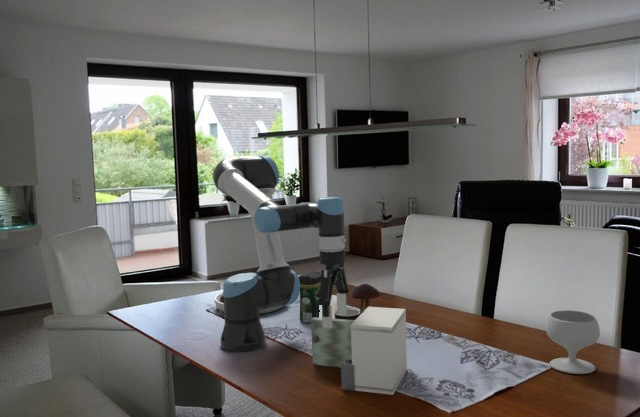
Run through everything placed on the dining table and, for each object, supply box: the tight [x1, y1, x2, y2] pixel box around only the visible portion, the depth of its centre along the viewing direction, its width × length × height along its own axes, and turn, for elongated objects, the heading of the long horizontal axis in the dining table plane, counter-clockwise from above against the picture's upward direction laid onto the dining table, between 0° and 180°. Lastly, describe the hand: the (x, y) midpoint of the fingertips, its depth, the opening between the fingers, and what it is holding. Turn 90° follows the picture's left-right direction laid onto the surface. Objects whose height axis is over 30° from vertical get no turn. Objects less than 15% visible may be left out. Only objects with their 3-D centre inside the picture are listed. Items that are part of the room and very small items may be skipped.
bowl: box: [214, 292, 282, 315], centre depth 241 cm, size 30×30×8 cm
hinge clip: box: [340, 358, 356, 392], centre depth 156 cm, size 4×6×9 cm
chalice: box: [545, 309, 601, 375], centre depth 164 cm, size 14×14×15 cm
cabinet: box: [351, 306, 408, 396], centre depth 160 cm, size 11×18×18 cm, turn 160°
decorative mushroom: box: [350, 283, 381, 315], centre depth 211 cm, size 11×11×15 cm
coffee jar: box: [298, 271, 321, 325], centre depth 217 cm, size 10×8×19 cm
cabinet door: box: [310, 317, 355, 368], centre depth 171 cm, size 14×3×14 cm, turn 70°
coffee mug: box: [334, 308, 360, 320], centre depth 194 cm, size 12×9×10 cm
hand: (335, 320), depth 171 cm, fingers open, 13 cm apart
